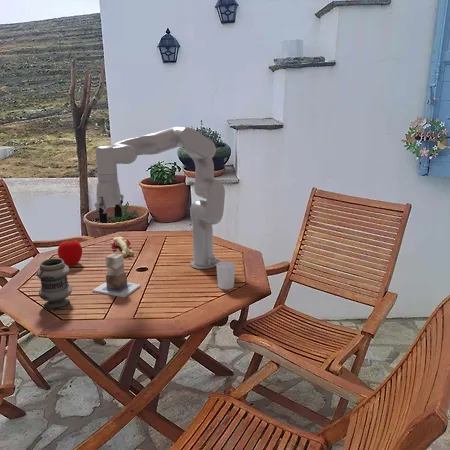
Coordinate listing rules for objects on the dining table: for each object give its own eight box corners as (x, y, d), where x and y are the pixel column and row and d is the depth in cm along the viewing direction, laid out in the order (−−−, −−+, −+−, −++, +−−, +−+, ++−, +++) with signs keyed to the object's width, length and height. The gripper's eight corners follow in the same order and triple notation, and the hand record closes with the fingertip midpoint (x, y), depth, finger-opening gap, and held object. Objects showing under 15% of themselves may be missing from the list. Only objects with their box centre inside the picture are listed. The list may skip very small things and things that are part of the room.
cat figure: (138, 257, 227) (125, 241, 248) (137, 242, 224) (124, 226, 245) (119, 261, 223) (107, 243, 244) (118, 245, 220) (106, 228, 241)
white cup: (222, 291, 182) (221, 269, 179) (213, 285, 189) (213, 263, 186) (238, 287, 186) (238, 265, 183) (229, 281, 192) (229, 260, 190)
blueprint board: (141, 286, 188) (141, 284, 188) (124, 297, 178) (124, 295, 177) (110, 281, 194) (110, 279, 194) (92, 291, 183) (92, 289, 183)
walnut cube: (127, 285, 187) (126, 272, 186) (118, 290, 182) (117, 277, 180) (115, 283, 189) (114, 270, 188) (106, 288, 184) (105, 275, 182)
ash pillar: (124, 272, 185) (123, 254, 183) (117, 276, 181) (115, 258, 179) (114, 270, 187) (113, 253, 185) (107, 275, 183) (105, 256, 181)
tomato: (64, 270, 207) (61, 245, 203) (56, 264, 214) (53, 239, 211) (87, 265, 214) (85, 239, 210) (78, 259, 222) (75, 235, 218)
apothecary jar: (41, 314, 164) (35, 269, 159) (40, 301, 175) (34, 258, 170) (75, 308, 169) (70, 264, 164) (72, 296, 180) (67, 254, 175)
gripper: (113, 174, 182) (116, 214, 187) (85, 181, 167) (89, 224, 171) (128, 175, 179) (131, 215, 184) (101, 182, 164) (105, 226, 169)
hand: (111, 219), depth 178 cm, fingers open, 9 cm apart
